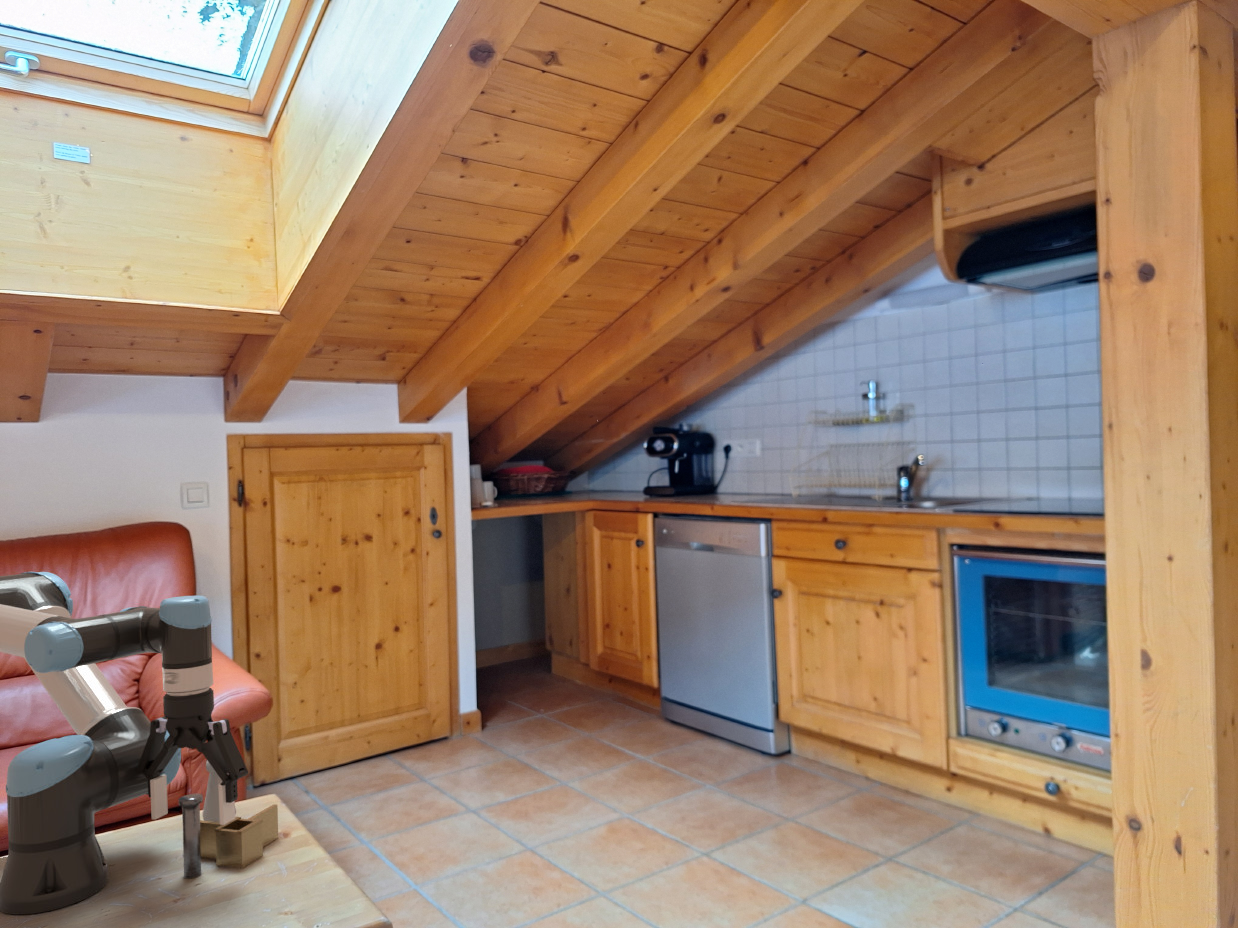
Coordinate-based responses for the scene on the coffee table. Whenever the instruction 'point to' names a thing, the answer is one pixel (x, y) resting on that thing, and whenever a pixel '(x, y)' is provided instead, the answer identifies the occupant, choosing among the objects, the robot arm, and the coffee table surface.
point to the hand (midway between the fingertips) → (193, 819)
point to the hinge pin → (191, 834)
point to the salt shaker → (212, 796)
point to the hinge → (239, 838)
